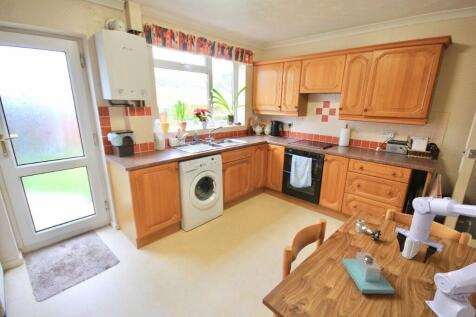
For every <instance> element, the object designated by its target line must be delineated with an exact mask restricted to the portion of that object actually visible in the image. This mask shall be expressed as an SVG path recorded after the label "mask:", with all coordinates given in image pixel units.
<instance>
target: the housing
mask: <svg viewBox="0 0 476 317" xmlns="http://www.w3.org/2000/svg"><path fill="white" fill-rule="evenodd" d="M355 256H356V257H355V259H356V261H355V265H356V267H357V269H358V270H359V272H360V274H361V276H362V277H363V279H364V281H370V282H378V281H379V277H380V273H382V268H381V267H380V266H379V264H378V262H377V261H376V259H375V258H374V257H373V256H372V255H371V253H370V252H359V251H357V252H356V255H355Z"/></svg>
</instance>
